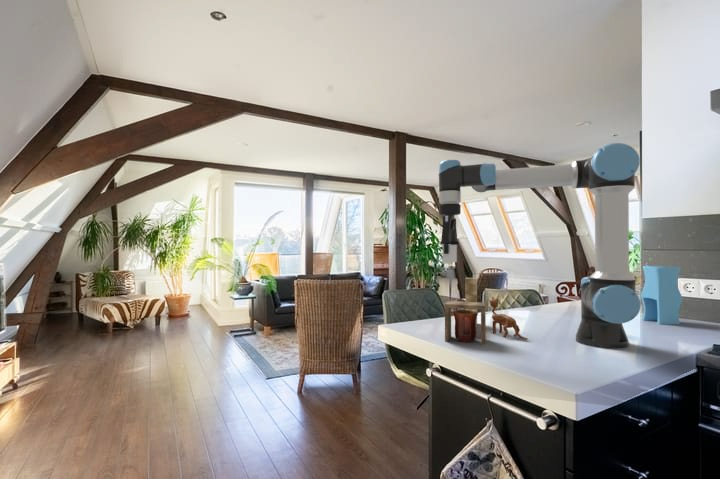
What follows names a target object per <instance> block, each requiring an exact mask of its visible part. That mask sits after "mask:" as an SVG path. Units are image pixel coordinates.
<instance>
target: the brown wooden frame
mask: <svg viewBox="0 0 720 479" xmlns="http://www.w3.org/2000/svg"><path fill="white" fill-rule="evenodd" d="M452 309H463V310H465V309H477V310H480V344H481V346H482V345H483V346H485V345H486V341H487V336H486V334H487V333H486V331H487V330H486V329H487V328H486V327H487V326H486V302H479V301H477V302H465V301H458V300H457V301H455V300H447V301H446V302H445V303H444V341H445V342H450V340H451V338H452Z"/></svg>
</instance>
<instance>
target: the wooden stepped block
mask: <svg viewBox="0 0 720 479" xmlns="http://www.w3.org/2000/svg"><path fill="white" fill-rule="evenodd" d="M477 282H478V279H477V277H465V282H464V283H465V286H464V287H465V290H464V291H465V293H464V294H465V295H464V296H465V299H464V300H465V301H464V302H478V283H477ZM464 310H473V311H477V312H478V309H464ZM477 325H478V318H477V319H476V326H477Z"/></svg>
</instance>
